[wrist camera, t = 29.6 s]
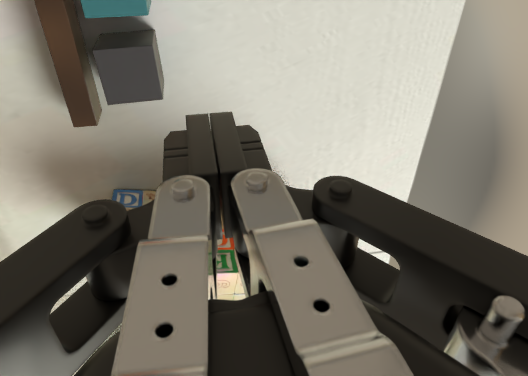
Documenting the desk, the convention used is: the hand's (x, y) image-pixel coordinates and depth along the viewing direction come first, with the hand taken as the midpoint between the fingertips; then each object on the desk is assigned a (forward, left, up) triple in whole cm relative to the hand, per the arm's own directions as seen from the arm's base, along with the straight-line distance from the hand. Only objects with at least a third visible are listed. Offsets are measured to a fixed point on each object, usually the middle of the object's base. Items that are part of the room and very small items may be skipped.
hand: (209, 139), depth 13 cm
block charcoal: (+5, -5, -25) cm, 26 cm away
